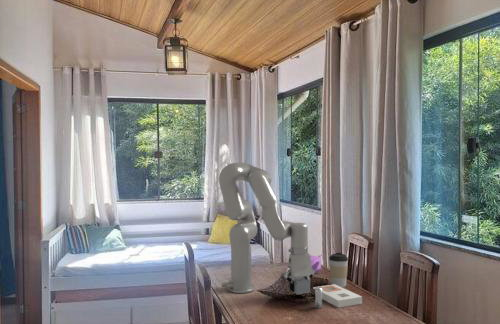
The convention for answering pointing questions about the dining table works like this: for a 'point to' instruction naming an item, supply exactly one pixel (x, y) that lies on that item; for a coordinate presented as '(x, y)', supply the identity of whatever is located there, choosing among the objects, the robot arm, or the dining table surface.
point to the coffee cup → (338, 269)
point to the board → (339, 296)
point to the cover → (301, 285)
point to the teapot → (316, 263)
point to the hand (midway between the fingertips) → (299, 289)
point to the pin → (318, 297)
